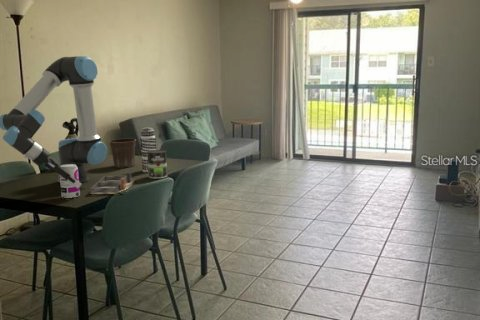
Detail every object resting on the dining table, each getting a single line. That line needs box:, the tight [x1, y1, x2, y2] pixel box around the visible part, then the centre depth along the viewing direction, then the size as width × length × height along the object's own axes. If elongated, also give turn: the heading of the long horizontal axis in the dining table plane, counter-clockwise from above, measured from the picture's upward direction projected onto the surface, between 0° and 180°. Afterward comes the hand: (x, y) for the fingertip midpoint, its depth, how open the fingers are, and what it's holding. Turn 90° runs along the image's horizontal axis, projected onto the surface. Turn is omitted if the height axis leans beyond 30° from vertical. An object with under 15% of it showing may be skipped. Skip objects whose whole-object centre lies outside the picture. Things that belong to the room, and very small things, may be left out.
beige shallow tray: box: [89, 170, 136, 195], centre depth 236 cm, size 16×27×6 cm, turn 2°
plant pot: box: [108, 137, 137, 169], centre depth 290 cm, size 16×16×16 cm
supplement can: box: [59, 164, 81, 199], centre depth 219 cm, size 8×8×15 cm
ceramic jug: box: [62, 117, 79, 140], centre depth 291 cm, size 17×15×30 cm
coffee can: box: [147, 149, 168, 180], centre depth 259 cm, size 10×10×14 cm
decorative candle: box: [139, 126, 157, 173], centre depth 274 cm, size 9×9×25 cm
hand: (77, 184), depth 222 cm, fingers closed on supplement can, 8 cm apart
